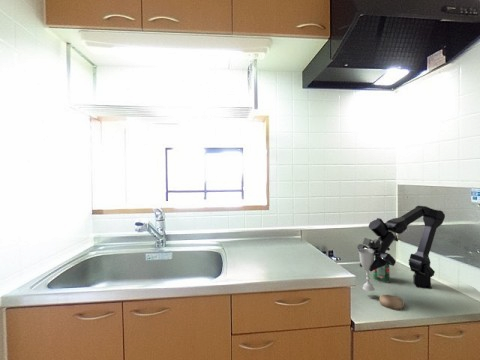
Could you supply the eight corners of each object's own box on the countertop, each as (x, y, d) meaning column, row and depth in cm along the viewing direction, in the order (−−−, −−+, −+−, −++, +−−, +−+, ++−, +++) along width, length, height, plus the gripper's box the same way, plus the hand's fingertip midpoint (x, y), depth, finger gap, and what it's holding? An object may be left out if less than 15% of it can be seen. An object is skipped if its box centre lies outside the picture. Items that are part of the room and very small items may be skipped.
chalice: (369, 293, 120) (367, 254, 119) (356, 288, 126) (354, 250, 125) (380, 289, 123) (378, 250, 123) (367, 284, 129) (365, 247, 129)
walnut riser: (400, 301, 119) (400, 296, 119) (405, 311, 111) (405, 305, 111) (378, 298, 122) (378, 293, 122) (381, 308, 114) (381, 302, 114)
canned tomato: (392, 282, 139) (392, 261, 138) (377, 282, 139) (377, 261, 138) (384, 276, 147) (384, 256, 146) (370, 276, 147) (370, 257, 146)
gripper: (359, 228, 134) (341, 252, 131) (389, 236, 116) (369, 264, 113) (372, 241, 136) (355, 266, 134) (404, 251, 118) (385, 280, 116)
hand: (365, 268), depth 124 cm, fingers closed on chalice, 6 cm apart
